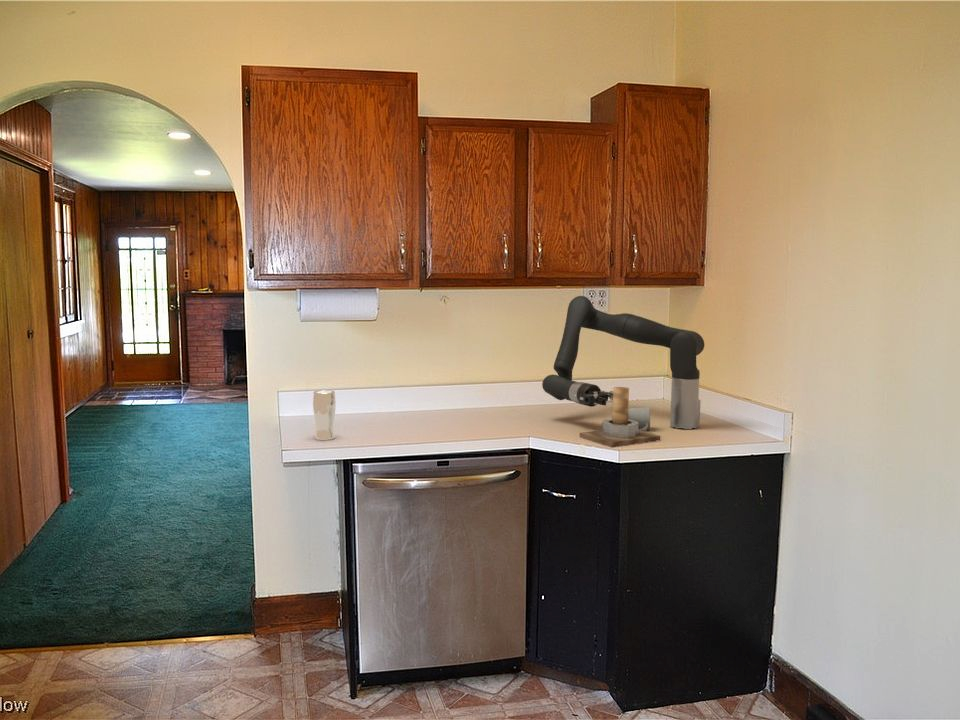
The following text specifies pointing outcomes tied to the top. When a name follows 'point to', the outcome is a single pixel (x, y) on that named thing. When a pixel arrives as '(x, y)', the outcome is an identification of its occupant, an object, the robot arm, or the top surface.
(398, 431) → the top surface
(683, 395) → the robot arm
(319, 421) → the beer glass
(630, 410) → the ceramic mug
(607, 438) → the walnut board
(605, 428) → the steel sleeve
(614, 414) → the oak peg
